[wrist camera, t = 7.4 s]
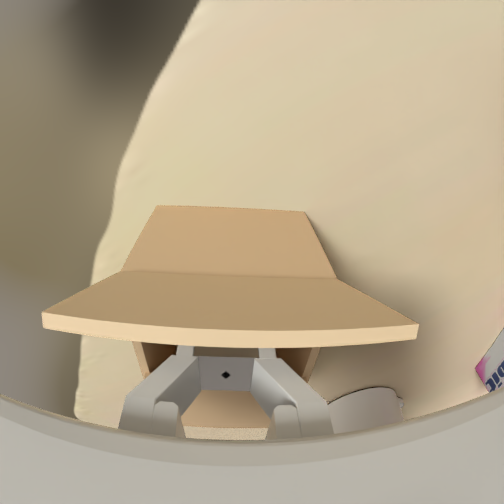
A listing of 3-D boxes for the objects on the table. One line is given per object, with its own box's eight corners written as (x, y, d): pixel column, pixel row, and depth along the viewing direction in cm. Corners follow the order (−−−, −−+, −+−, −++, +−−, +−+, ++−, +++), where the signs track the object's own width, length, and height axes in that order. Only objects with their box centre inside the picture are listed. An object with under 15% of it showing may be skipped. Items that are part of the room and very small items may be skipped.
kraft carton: (279, 345, 32) (291, 427, 23) (171, 341, 31) (157, 424, 22) (304, 212, 24) (343, 292, 15) (156, 205, 23) (113, 284, 14)
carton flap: (415, 338, 8) (419, 324, 8) (43, 327, 7) (41, 312, 7) (336, 288, 16) (337, 279, 16) (121, 280, 15) (121, 270, 15)
